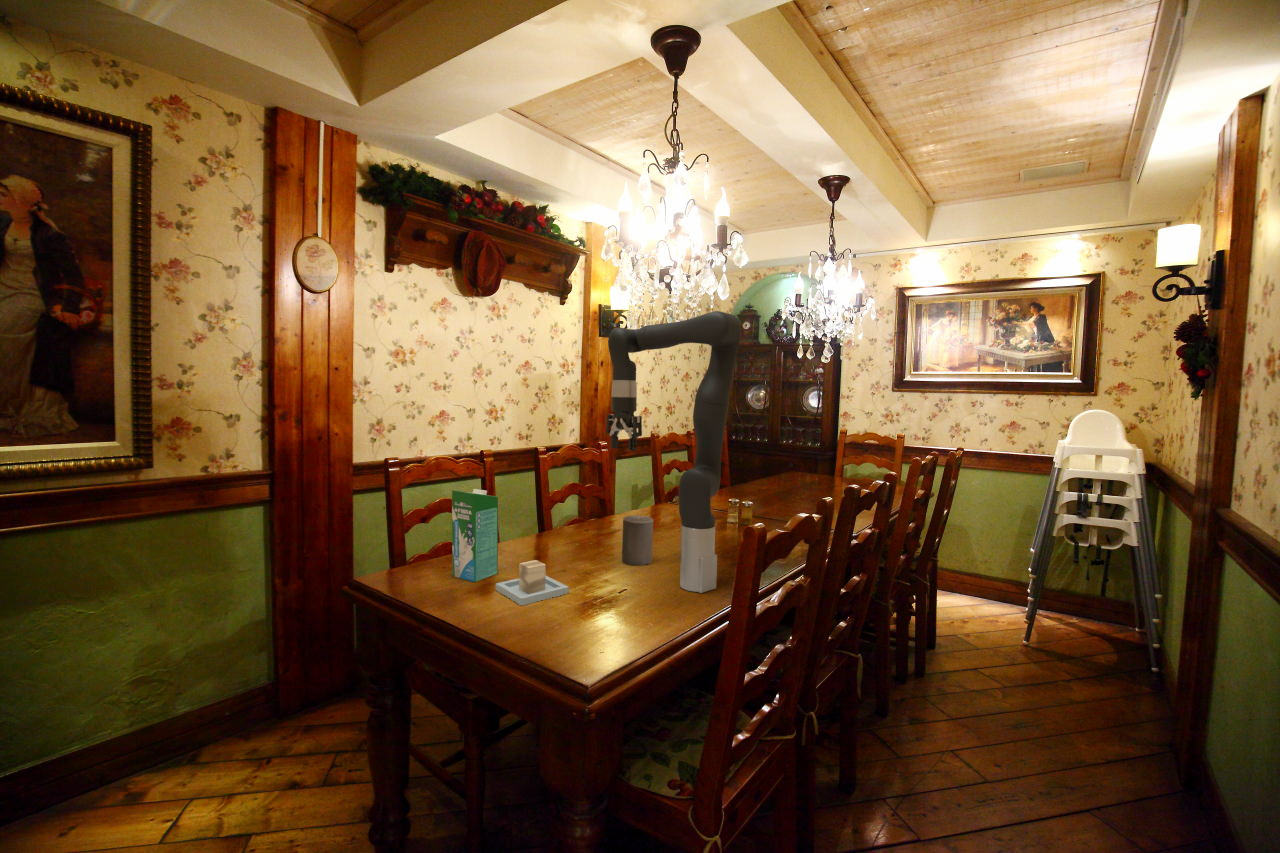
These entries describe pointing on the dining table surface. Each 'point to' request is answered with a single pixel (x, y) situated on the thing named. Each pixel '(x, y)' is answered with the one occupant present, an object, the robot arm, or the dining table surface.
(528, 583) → the maple block
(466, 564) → the milk carton
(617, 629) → the dining table surface
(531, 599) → the tray
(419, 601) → the dining table surface
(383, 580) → the dining table surface
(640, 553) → the pillar candle
